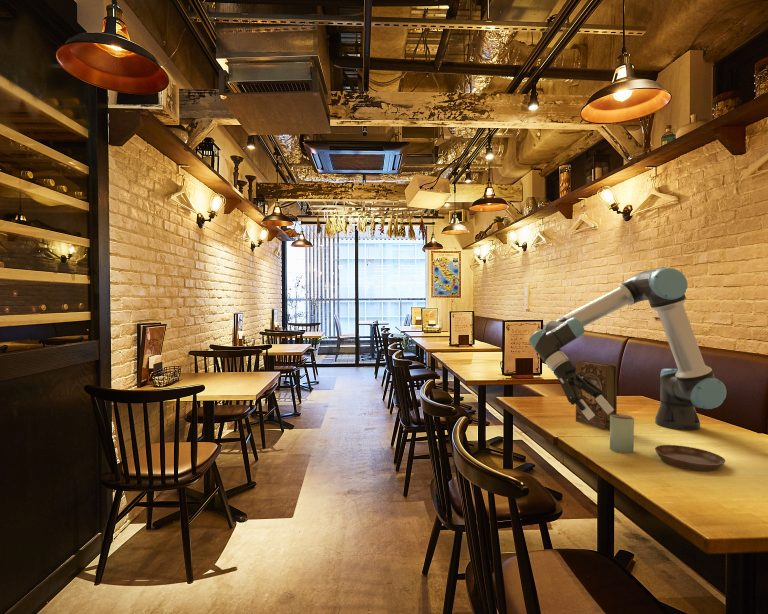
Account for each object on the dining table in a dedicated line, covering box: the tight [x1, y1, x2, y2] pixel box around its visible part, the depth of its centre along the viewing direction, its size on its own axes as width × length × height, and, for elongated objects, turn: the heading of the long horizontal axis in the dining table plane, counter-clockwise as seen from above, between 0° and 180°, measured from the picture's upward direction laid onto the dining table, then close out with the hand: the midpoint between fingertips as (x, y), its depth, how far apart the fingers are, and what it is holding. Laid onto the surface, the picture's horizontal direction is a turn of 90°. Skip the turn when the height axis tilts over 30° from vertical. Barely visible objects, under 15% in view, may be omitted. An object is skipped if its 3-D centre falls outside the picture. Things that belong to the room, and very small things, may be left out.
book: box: [575, 360, 618, 430], centre depth 178 cm, size 16×6×25 cm, turn 22°
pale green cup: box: [609, 413, 635, 454], centre depth 146 cm, size 7×7×11 cm
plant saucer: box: [654, 444, 726, 472], centre depth 134 cm, size 18×18×3 cm
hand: (601, 414), depth 150 cm, fingers open, 13 cm apart
